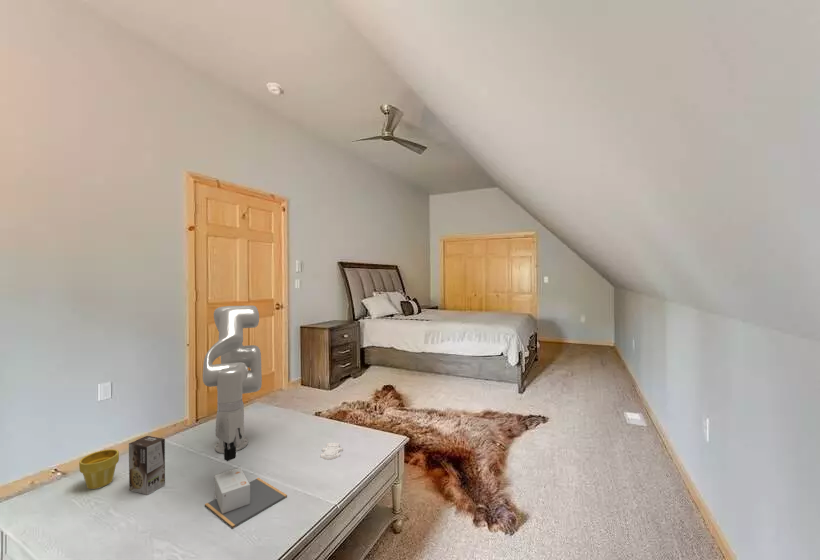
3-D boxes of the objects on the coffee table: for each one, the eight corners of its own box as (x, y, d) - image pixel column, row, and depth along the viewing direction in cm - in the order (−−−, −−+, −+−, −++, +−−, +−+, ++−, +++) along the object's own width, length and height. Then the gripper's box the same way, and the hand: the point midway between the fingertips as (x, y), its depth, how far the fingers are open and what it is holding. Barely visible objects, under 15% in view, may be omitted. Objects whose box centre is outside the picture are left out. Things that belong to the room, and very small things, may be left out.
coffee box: (166, 484, 121) (166, 438, 121) (146, 495, 115) (146, 447, 115) (147, 479, 124) (147, 434, 124) (128, 490, 118) (127, 442, 118)
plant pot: (73, 496, 115) (73, 466, 115) (86, 479, 124) (86, 452, 124) (113, 488, 119) (113, 459, 119) (123, 473, 129) (122, 446, 129)
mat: (204, 506, 110) (204, 503, 110) (258, 479, 124) (258, 477, 124) (232, 528, 100) (232, 526, 100) (287, 497, 114) (287, 494, 114)
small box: (214, 494, 115) (221, 514, 105) (214, 474, 115) (221, 493, 105) (240, 485, 120) (250, 504, 110) (240, 466, 120) (250, 484, 110)
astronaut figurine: (345, 446, 150) (345, 439, 150) (338, 461, 138) (338, 453, 138) (325, 445, 150) (325, 438, 150) (316, 460, 138) (316, 452, 138)
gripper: (208, 403, 120) (208, 457, 120) (230, 413, 111) (230, 471, 111) (229, 397, 126) (229, 448, 126) (252, 406, 117) (252, 461, 117)
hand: (230, 458), depth 118 cm, fingers closed
